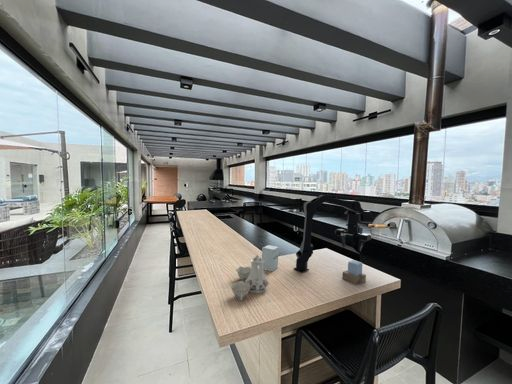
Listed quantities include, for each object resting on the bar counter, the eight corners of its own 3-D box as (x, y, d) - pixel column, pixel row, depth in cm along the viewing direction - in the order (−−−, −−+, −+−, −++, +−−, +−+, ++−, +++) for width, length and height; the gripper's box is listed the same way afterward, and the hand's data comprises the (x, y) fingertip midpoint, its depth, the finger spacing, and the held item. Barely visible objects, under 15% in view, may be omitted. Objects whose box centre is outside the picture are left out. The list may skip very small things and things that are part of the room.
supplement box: (272, 272, 120) (273, 249, 120) (260, 269, 124) (261, 247, 124) (278, 268, 127) (279, 246, 126) (267, 265, 130) (267, 244, 130)
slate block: (357, 276, 110) (357, 264, 109) (347, 272, 113) (348, 261, 113) (361, 274, 113) (362, 262, 112) (352, 270, 117) (353, 259, 116)
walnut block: (355, 285, 108) (356, 277, 108) (342, 279, 115) (342, 271, 115) (365, 282, 112) (365, 274, 112) (351, 276, 119) (352, 269, 119)
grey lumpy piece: (234, 278, 114) (232, 247, 114) (265, 275, 115) (263, 245, 115) (231, 309, 86) (228, 268, 86) (272, 305, 87) (269, 264, 87)
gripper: (376, 223, 122) (374, 251, 122) (344, 219, 136) (343, 243, 137) (367, 225, 115) (365, 254, 115) (335, 220, 129) (334, 246, 130)
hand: (351, 249), depth 125 cm, fingers open, 9 cm apart
